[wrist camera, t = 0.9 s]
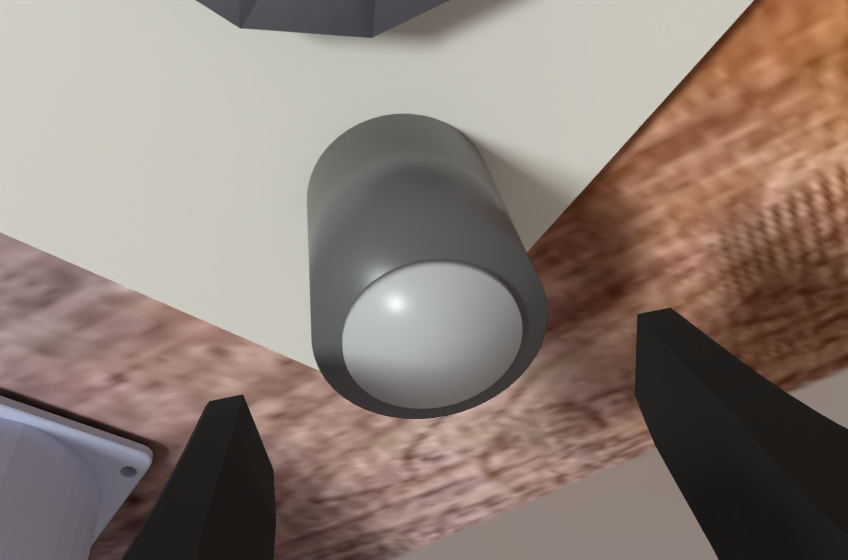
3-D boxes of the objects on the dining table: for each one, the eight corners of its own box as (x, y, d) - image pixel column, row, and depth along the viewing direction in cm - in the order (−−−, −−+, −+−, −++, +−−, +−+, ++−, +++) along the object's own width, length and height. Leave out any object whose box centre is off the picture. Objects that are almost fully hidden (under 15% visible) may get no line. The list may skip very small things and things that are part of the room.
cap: (419, 302, 22) (454, 455, 17) (271, 226, 20) (264, 377, 15) (527, 175, 20) (600, 308, 15) (376, 75, 18) (407, 195, 13)
